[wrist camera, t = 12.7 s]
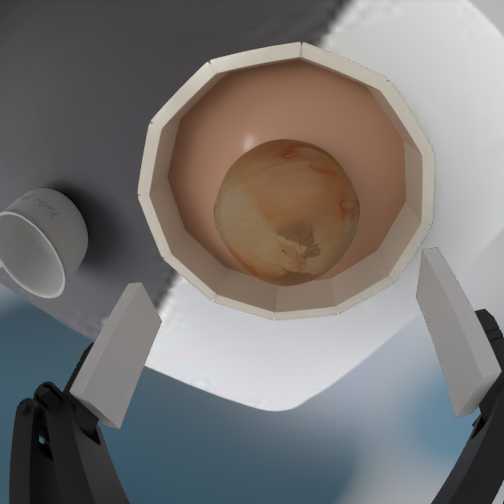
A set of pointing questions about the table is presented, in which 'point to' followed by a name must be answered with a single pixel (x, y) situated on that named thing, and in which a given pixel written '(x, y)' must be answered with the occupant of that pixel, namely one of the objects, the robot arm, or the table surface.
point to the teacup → (42, 241)
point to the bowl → (295, 128)
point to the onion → (286, 212)
